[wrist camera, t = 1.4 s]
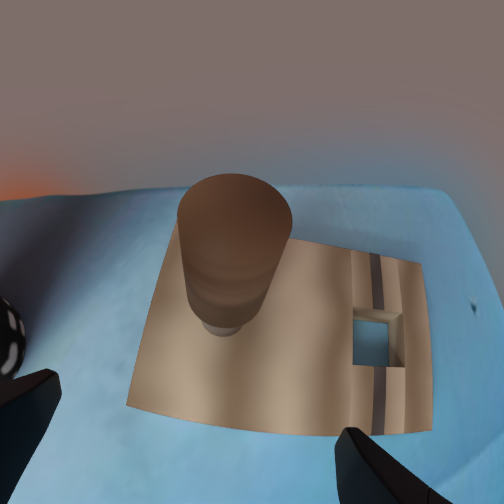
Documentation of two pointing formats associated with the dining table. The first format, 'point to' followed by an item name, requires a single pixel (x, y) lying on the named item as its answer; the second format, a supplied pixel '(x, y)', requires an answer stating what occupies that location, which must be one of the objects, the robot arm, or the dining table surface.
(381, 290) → the board
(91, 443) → the dining table surface
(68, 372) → the dining table surface
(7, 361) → the spotted tube
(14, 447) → the robot arm
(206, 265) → the brown wooden peg
